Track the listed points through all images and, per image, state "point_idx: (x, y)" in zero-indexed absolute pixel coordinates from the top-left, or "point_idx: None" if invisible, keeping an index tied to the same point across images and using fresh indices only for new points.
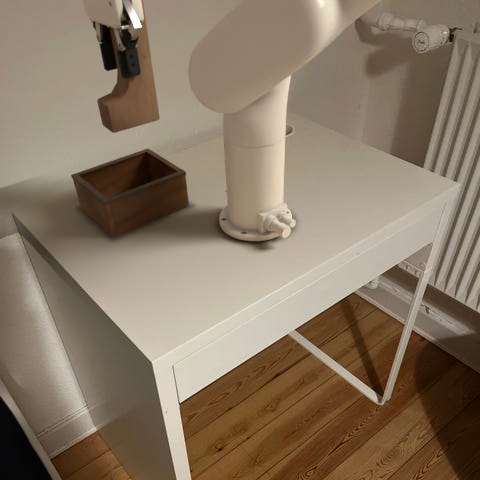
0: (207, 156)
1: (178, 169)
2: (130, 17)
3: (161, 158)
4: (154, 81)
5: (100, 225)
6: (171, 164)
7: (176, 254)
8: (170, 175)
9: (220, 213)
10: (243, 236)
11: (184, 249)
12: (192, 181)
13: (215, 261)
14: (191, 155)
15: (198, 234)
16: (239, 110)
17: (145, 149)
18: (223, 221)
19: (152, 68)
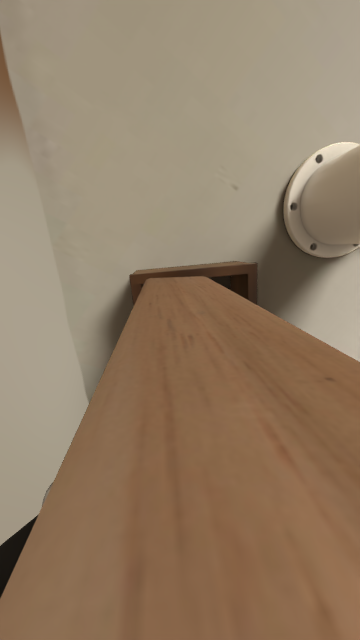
0: (101, 134)
1: (242, 269)
2: None
3: (185, 274)
4: (232, 291)
5: None
6: (217, 270)
7: (314, 327)
8: (250, 290)
9: (298, 242)
10: (358, 247)
11: (312, 315)
12: (173, 216)
13: (355, 297)
14: (79, 160)
15: (300, 286)
16: None
17: (131, 281)
18: (316, 250)
19: (248, 300)
